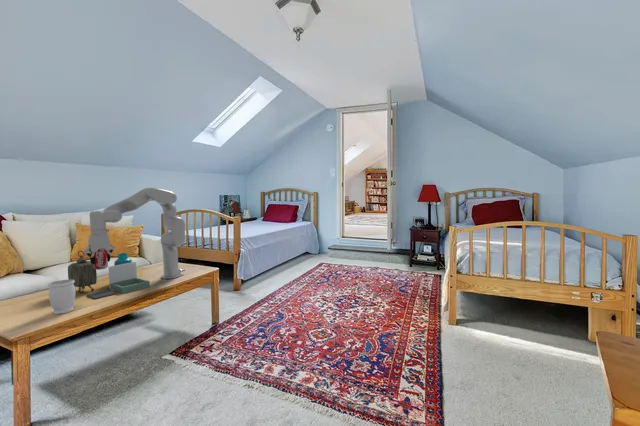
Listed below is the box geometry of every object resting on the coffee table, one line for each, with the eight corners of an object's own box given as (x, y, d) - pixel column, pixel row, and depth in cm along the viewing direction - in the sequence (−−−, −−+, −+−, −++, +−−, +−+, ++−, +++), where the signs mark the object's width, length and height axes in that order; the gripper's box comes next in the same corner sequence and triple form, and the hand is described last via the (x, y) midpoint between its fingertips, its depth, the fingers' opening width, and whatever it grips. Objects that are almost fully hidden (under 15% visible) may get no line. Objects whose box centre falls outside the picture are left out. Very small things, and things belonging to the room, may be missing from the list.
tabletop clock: (97, 290, 194) (95, 250, 192) (80, 295, 186) (77, 253, 184) (85, 287, 200) (82, 248, 199) (68, 291, 192) (65, 251, 191)
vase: (137, 279, 218) (135, 252, 217) (126, 283, 208) (124, 255, 206) (122, 279, 219) (121, 251, 218) (111, 283, 209) (109, 255, 207)
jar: (60, 307, 165) (58, 279, 164) (81, 307, 166) (79, 278, 165) (44, 315, 154) (42, 285, 153) (67, 314, 155) (64, 284, 154)
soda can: (111, 267, 187) (109, 247, 186) (99, 270, 180) (98, 249, 180) (102, 266, 189) (101, 247, 189) (90, 269, 183) (89, 249, 182)
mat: (109, 290, 194) (109, 289, 194) (118, 293, 187) (118, 292, 187) (86, 295, 184) (86, 294, 184) (95, 299, 178) (95, 297, 177)
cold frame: (136, 282, 210) (135, 261, 209) (149, 286, 201) (148, 264, 200) (109, 288, 197) (108, 266, 196) (122, 293, 188) (121, 270, 187)
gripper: (112, 230, 193) (114, 259, 194) (78, 233, 178) (80, 264, 180) (118, 230, 189) (119, 260, 190) (83, 234, 174) (85, 266, 175)
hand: (100, 262), depth 185 cm, fingers closed on soda can, 7 cm apart
